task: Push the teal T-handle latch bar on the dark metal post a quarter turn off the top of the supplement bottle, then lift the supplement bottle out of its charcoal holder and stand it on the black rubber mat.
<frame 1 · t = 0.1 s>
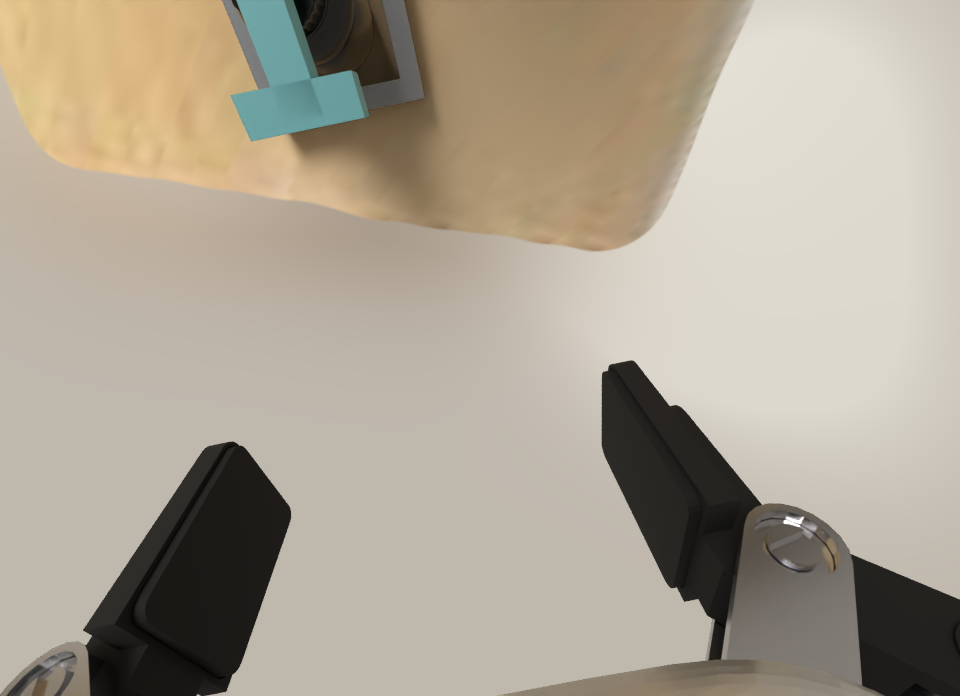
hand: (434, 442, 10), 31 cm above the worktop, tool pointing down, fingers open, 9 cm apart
supplement bottle: (327, 21, 29), resting in bottle holder
bottle holder: (327, 20, 29), on the worktop
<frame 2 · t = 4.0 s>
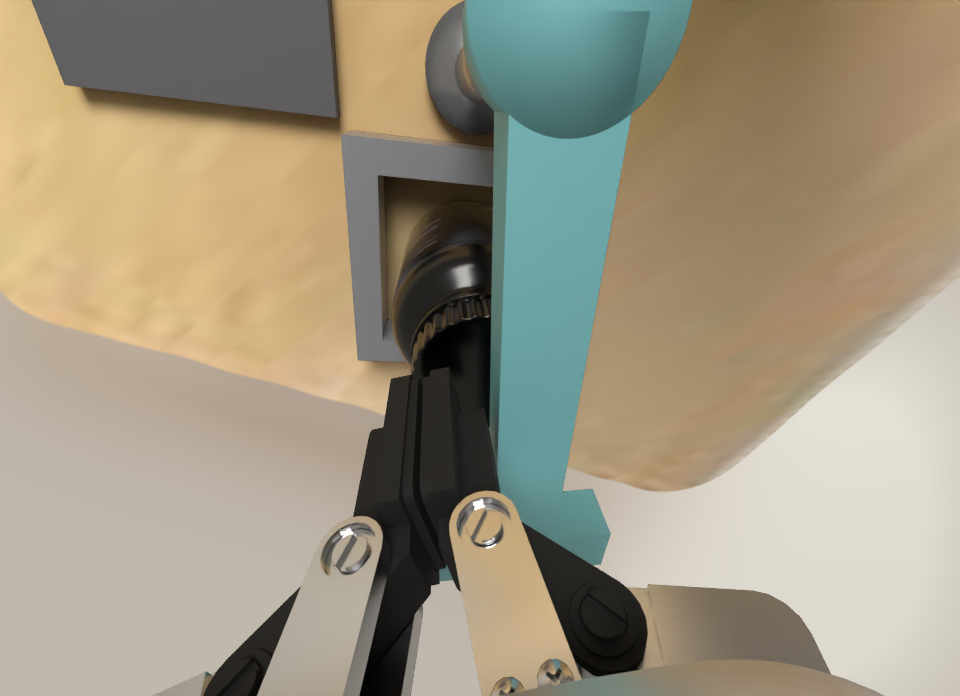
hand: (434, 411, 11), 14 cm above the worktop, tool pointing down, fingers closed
supplement bottle: (462, 256, 23), resting in bottle holder
bottle holder: (462, 257, 23), on the worktop
latch bar: (532, 369, 10), point 14 cm above the worktop, hinge at 6.6°, touching gripper
latch post: (479, 72, 18), on the worktop
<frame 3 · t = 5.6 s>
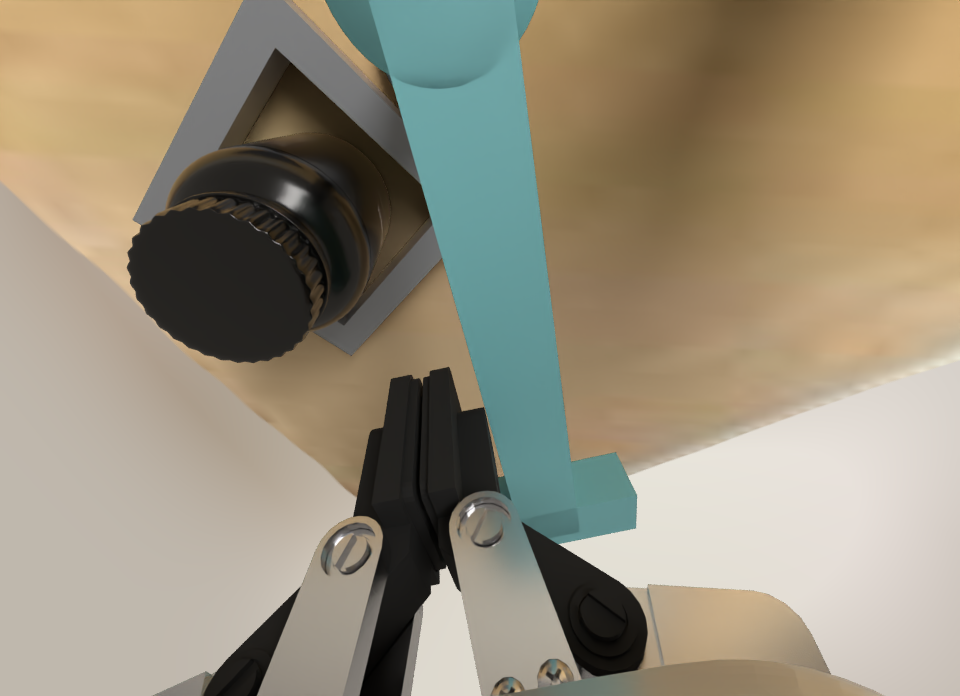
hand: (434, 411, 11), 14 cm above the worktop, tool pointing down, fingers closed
supplement bottle: (329, 200, 21), resting in bottle holder
bottle holder: (328, 201, 21), on the worktop
latch bar: (509, 337, 10), point 14 cm above the worktop, hinge at 56.6°, touching gripper
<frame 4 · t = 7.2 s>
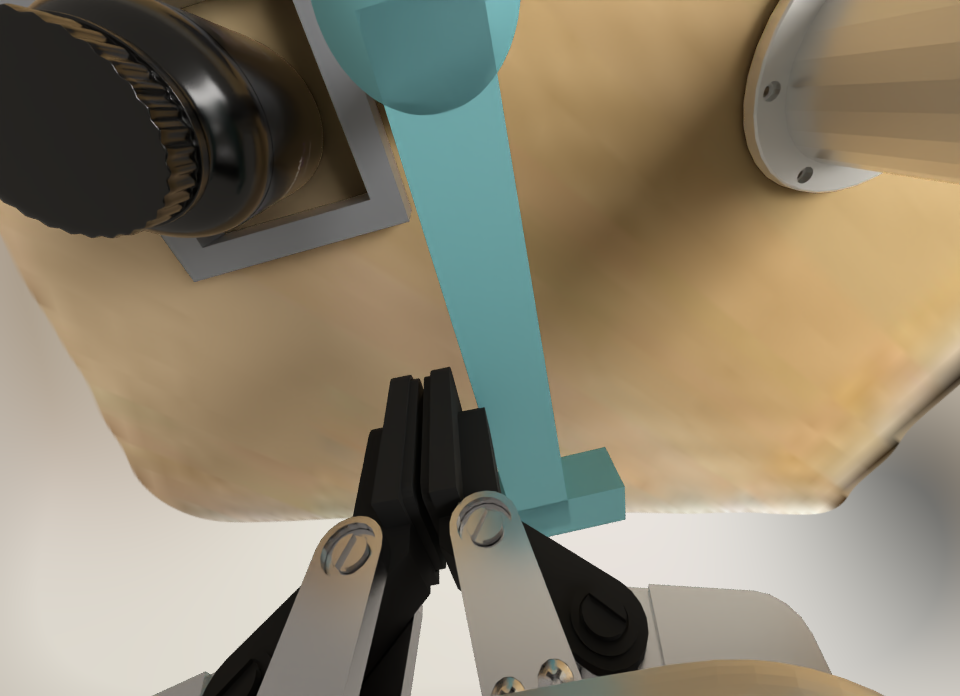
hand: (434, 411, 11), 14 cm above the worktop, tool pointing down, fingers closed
supplement bottle: (256, 121, 19), resting in bottle holder
bottle holder: (254, 121, 19), on the worktop
latch bar: (498, 337, 10), point 14 cm above the worktop, hinge at 89.1°
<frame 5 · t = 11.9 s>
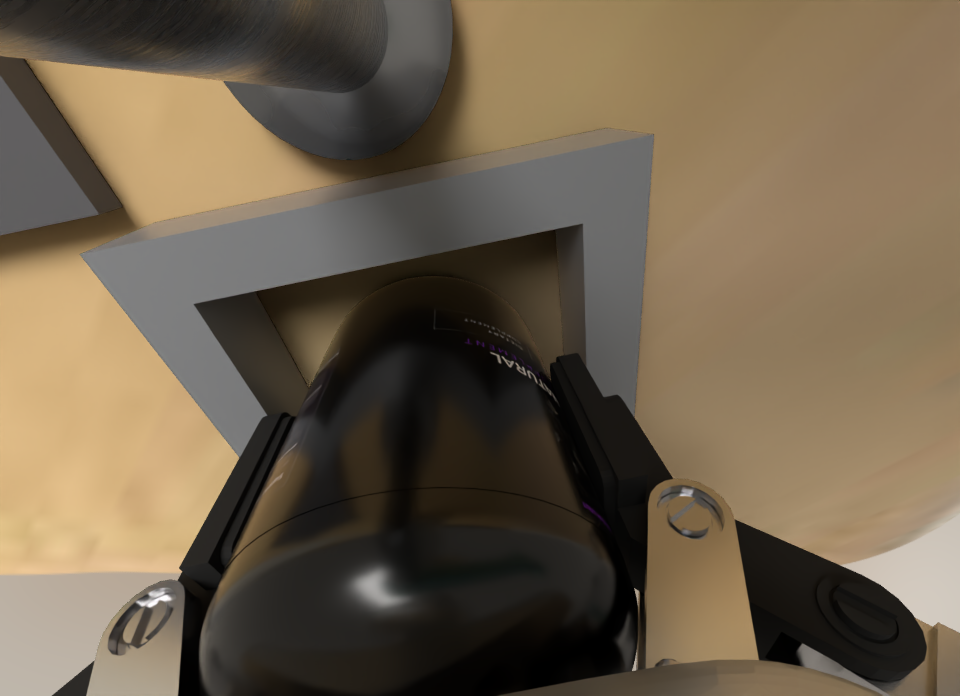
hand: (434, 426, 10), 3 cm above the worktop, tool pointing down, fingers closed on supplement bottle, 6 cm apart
supplement bottle: (434, 357, 13), resting in bottle holder, touching gripper
bottle holder: (434, 360, 13), on the worktop
latch post: (335, 27, 8), on the worktop
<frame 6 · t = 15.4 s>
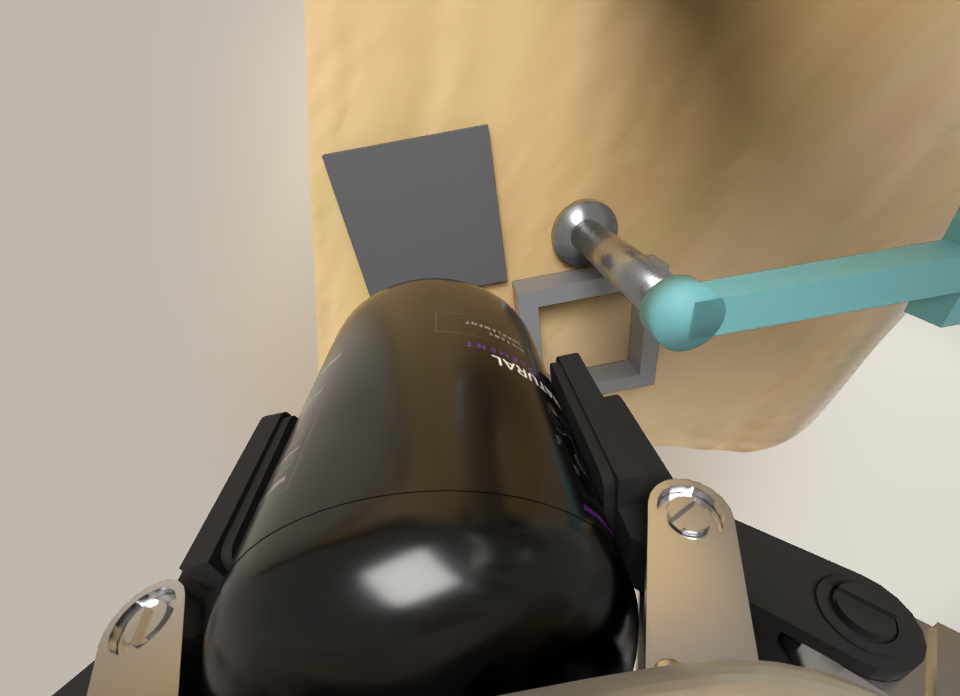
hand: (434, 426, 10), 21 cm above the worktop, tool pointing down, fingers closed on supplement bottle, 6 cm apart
supplement bottle: (435, 359, 13), point 18 cm above the worktop, touching gripper
bottle holder: (583, 329, 35), on the worktop
rubber mat: (424, 222, 28), on the worktop
latch bar: (821, 288, 18), point 14 cm above the worktop, hinge at 89.1°
latch post: (582, 232, 30), on the worktop
when the fingers open (5 cm above the worktop, at t = 19.2 s): supplement bottle drops 1 cm, resting on rubber mat.
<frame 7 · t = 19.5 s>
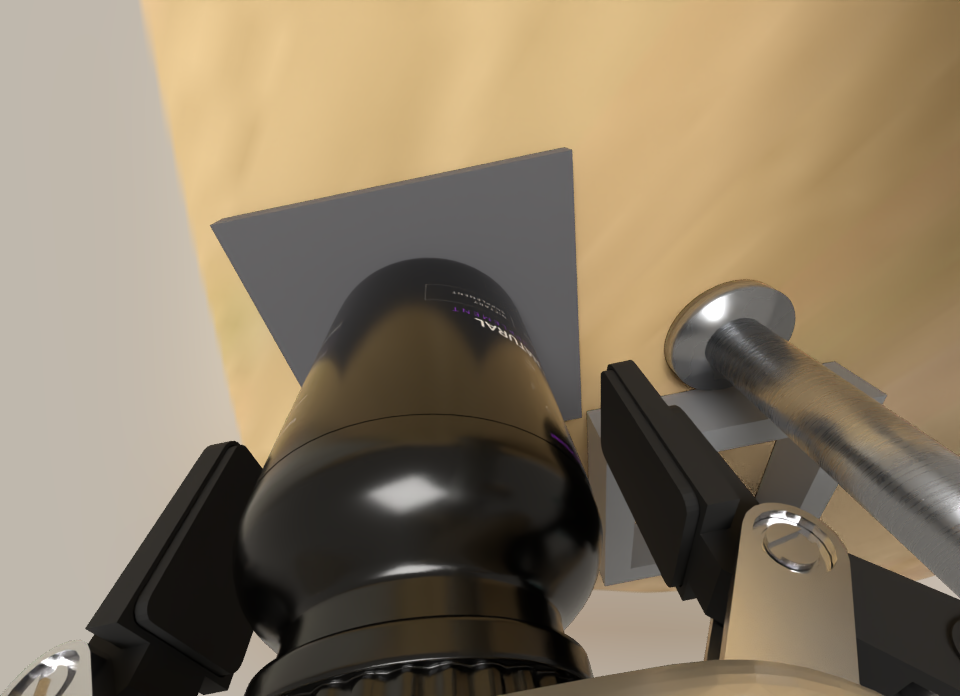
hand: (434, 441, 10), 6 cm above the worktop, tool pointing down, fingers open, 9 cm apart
supplement bottle: (430, 336, 14), point 1 cm above the worktop, touching rubber mat
bottle holder: (693, 467, 21), on the worktop
rubber mat: (434, 330, 15), on the worktop
latch post: (721, 333, 16), on the worktop
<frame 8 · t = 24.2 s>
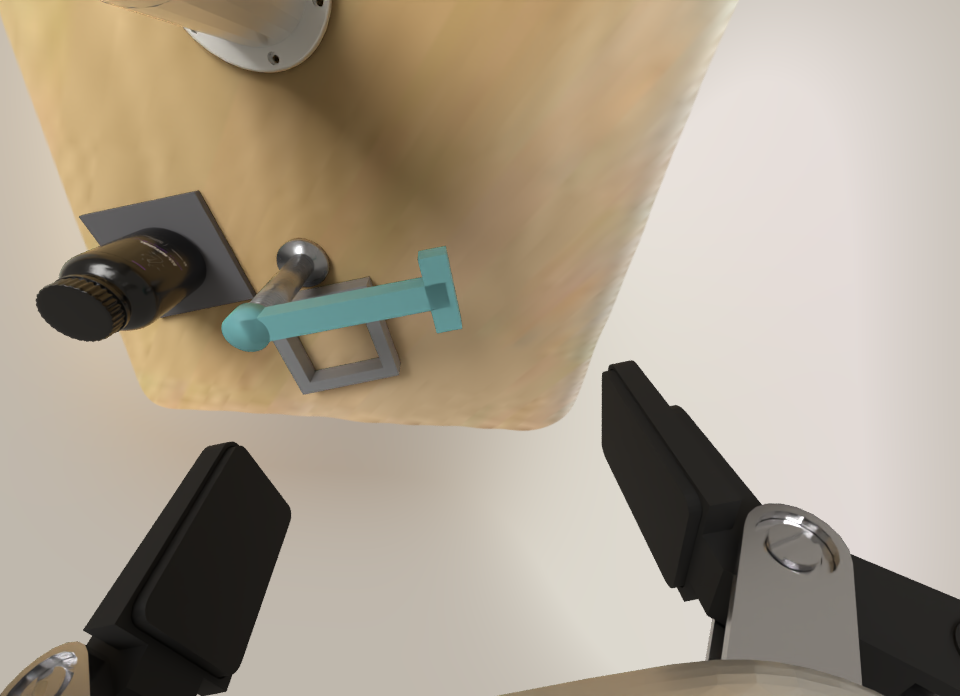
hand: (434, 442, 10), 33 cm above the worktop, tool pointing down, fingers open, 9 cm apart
supplement bottle: (171, 258, 38), point 1 cm above the worktop, touching rubber mat
bottle holder: (336, 333, 45), on the worktop
rubber mat: (177, 257, 39), on the worktop
latch bar: (342, 309, 28), point 14 cm above the worktop, hinge at 89.1°
latch post: (304, 261, 40), on the worktop
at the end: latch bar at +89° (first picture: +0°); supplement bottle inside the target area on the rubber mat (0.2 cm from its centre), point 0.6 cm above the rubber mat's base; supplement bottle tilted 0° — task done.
